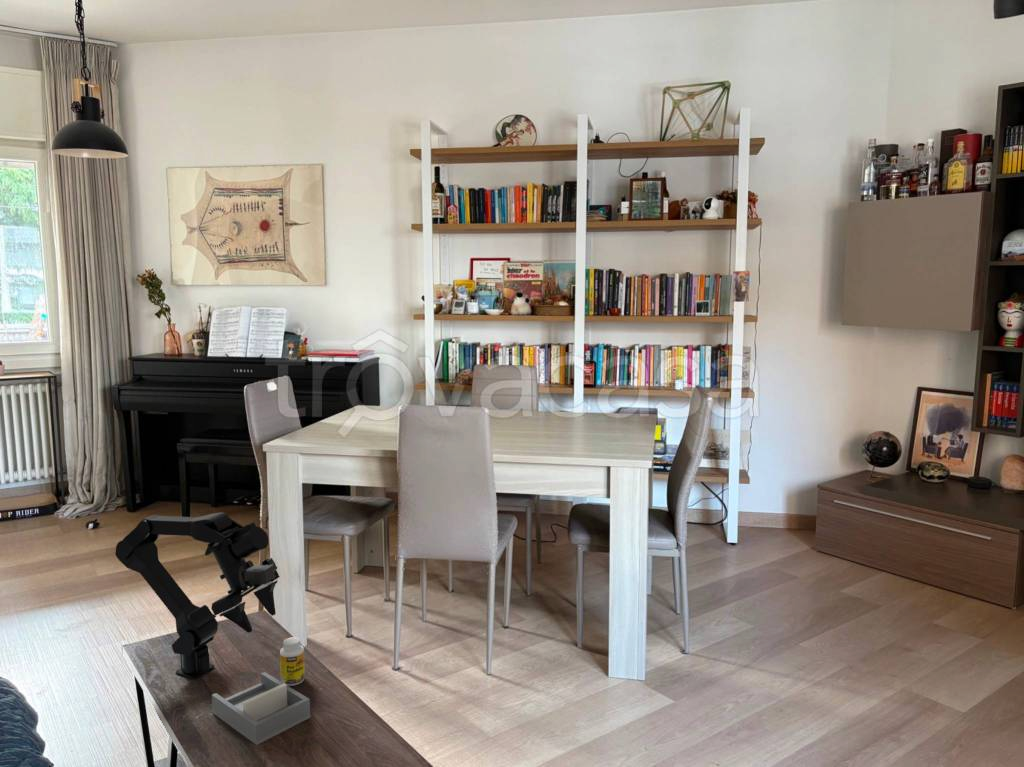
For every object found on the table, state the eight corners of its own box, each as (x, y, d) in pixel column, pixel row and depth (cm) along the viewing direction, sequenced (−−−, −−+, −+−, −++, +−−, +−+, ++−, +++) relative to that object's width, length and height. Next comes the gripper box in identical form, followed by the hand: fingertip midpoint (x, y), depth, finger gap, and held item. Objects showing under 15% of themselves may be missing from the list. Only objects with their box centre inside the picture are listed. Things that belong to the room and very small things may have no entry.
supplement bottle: (284, 689, 175) (283, 648, 173) (278, 679, 179) (276, 639, 178) (308, 682, 178) (306, 642, 177) (300, 672, 182) (299, 633, 181)
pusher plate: (243, 724, 159) (242, 702, 159) (284, 704, 167) (283, 683, 166) (246, 725, 159) (245, 703, 158) (287, 705, 166) (286, 684, 166)
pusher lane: (212, 713, 165) (211, 694, 165) (265, 689, 175) (264, 671, 174) (256, 745, 154) (255, 725, 153) (310, 717, 163) (309, 699, 163)
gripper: (233, 566, 165) (264, 629, 165) (281, 538, 183) (309, 595, 182) (196, 583, 168) (227, 645, 168) (247, 555, 186) (275, 611, 186)
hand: (262, 623), depth 176 cm, fingers open, 9 cm apart
